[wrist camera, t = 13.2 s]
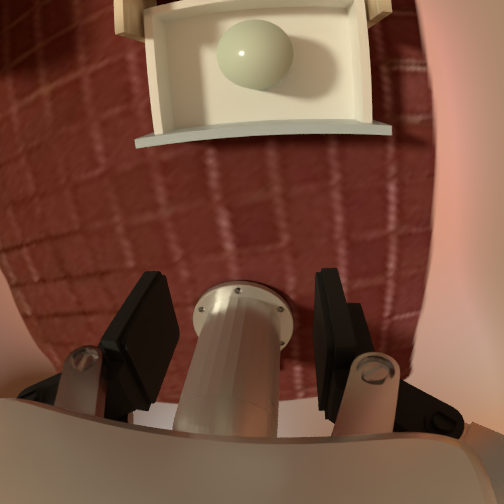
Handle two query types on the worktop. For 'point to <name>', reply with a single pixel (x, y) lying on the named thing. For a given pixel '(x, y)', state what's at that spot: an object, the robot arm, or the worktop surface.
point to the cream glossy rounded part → (255, 54)
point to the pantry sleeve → (132, 4)
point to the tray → (267, 100)
